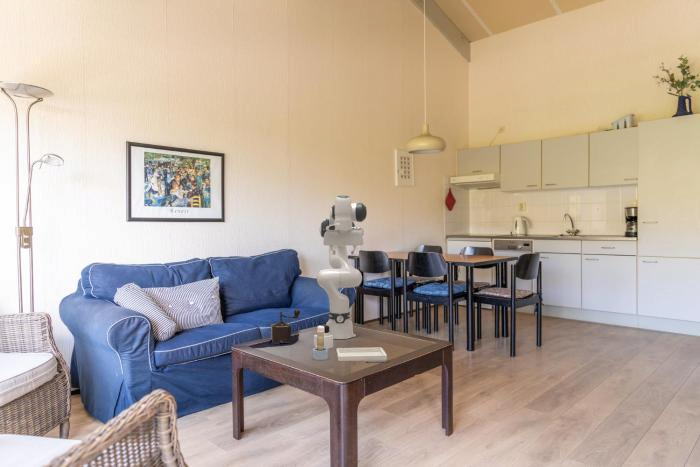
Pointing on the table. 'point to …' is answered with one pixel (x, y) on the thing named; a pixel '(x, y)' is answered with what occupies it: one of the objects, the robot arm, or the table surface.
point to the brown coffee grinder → (282, 329)
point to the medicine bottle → (327, 338)
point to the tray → (362, 354)
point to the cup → (320, 354)
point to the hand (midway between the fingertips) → (343, 254)
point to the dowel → (320, 341)
